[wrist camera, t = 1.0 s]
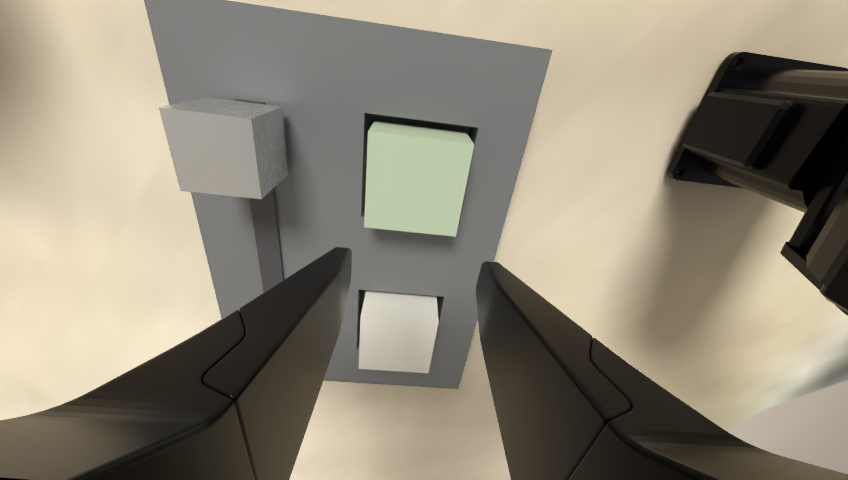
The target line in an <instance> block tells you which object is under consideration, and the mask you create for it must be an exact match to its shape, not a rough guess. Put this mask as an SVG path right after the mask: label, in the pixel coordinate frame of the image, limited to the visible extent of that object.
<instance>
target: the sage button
mask: <svg viewBox="0 0 848 480" xmlns="http://www.w3.org/2000/svg"><path fill="white" fill-rule="evenodd" d="M473 149H474V144H473V142H472V140H471V139H470V137H469V136H468V134H467V133H466V132H460V131H452V130H444V129H436V128H428V127H420V126H413V125H405V124H397V123H389V122H381V121H374V123H373V124H372V126H371V127H370V129H369V131H368V142H367V167H366V192H365V217H364V227H365V228H375V229H385V230H395V231H405V232H415V233H425V234H435V235H445V236H454V237H456V234H457V229H458V224H459V219H460V214H461V209H462V204H463V199H464V194H465V189H466V184H467V179H468V174H469V169H470V164H471V159H472V154H473Z"/></svg>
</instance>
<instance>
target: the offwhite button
mask: <svg viewBox="0 0 848 480" xmlns="http://www.w3.org/2000/svg"><path fill="white" fill-rule="evenodd" d="M438 323H439V320H438V308H437V296H430V295H418V294H406V293H394V292H383V291H371V290H366V293H365V298H364V302H363V307H362V312H361V318H360V344H359V369H369V370H385V371H400V372H415V373H429V368H430V363H431V358H432V353H433V348H434V343H435V338H436V333H437V328H438Z"/></svg>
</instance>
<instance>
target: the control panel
mask: <svg viewBox="0 0 848 480" xmlns="http://www.w3.org/2000/svg"><path fill="white" fill-rule="evenodd" d="M144 2H145V6H146V10H147V14H148V18H149V22H150V26H151V31H152V35H153V39H154V43H155V47H156V51H157V55H158V59H159V63H160V67H161V72H162V76H163V80H164V84H165V88H166V92H167V96H168V100H169V104H170V105H173V104H178V103H183V102H188V101H193V100H198V99H203V98H208V97H210V98H218V99H226V100H233V101H241V102H249V103H257V104H264V105H272V106H280V107H282V110H283V122H284V134H285V145H286V157H287V169H288V175H287V176H286V177H285V178H284V179H283V180H282V181H281V182H280V183H278V184H277V185H276V186H275V187H274V188H273V189H272V190H271V191H270V192H269V193H268V194H267V195H266V196H265V197H263V198H262V199H254V198H245V197H235V196H226V195H216V194H207V193H197V192H191V194H192V199H193V203H194V207H195V211H196V215H197V219H198V223H199V227H200V231H201V235H202V240H203V244H204V248H205V252H206V256H207V260H208V264H209V268H210V272H211V276H212V281H213V285H214V289H215V293H216V297H217V301H218V305H219V309H220V313H221V317H222V319H223V318H225V317H226V316H228V315H229V314H231V313H232V312H234V311H236V310H239V308H240V307H242V306H244V305H245V304H247V303H248V302H250V301H251V300H253V299H255V298H256V297H258V296H259V295H261V294H263V293H264V292H266V291H267V290H269V289H270V288H272V287H274V286H275V285H277V284H278V283H280V282H281V281H283V280H285V279H286V278H288V277H289V276H291V275H292V274H294V273H296V272H297V271H299V270H300V269H302V268H303V267H305V266H307V265H308V264H310V263H311V262H313V261H314V260H316V259H318V258H319V257H321V256H322V255H324V254H325V253H327V252H329V251H330V250H332V249H333V248H335V247H344V248H350V249H351V251H352V269H351V282H350V287H349V292H348V297H347V302H346V307H345V311H344V316H343V321H342V325H341V330H340V333H339V336H338V339H337V342H336V345H335V348H334V351H333V354H332V357H331V359H330V362H329V365H328V368H327V371H326V374H325V377H324V380H325V381H341V382H357V383H373V384H390V385H406V386H422V387H438V388H454V389H458V387H459V383H460V380H461V376H462V373H463V369H464V365H465V362H466V358H467V355H468V351H469V347H470V344H471V340H472V337H473V333H474V330H475V326H476V322H477V319H478V311H477V301H476V284H477V280H478V276H479V273H480V269H481V265H482V263H483V262H484V261H490V262H493V261H494V258H495V254H496V251H497V247H498V243H499V240H500V236H501V233H502V229H503V226H504V222H505V218H506V215H507V211H508V208H509V204H510V200H511V197H512V193H513V190H514V186H515V183H516V179H517V175H518V172H519V168H520V165H521V161H522V157H523V154H524V150H525V147H526V143H527V139H528V136H529V132H530V129H531V125H532V122H533V118H534V114H535V111H536V107H537V104H538V100H539V96H540V93H541V89H542V86H543V82H544V79H545V75H546V71H547V68H548V64H549V61H550V57H551V53H552V50H549V49H542V48H535V47H529V46H522V45H516V44H509V43H503V42H496V41H490V40H483V39H476V38H470V37H463V36H457V35H450V34H444V33H437V32H430V31H424V30H417V29H411V28H404V27H398V26H391V25H385V24H378V23H371V22H365V21H358V20H352V19H345V18H339V17H332V16H326V15H319V14H312V13H306V12H299V11H293V10H286V9H280V8H273V7H267V6H260V5H253V4H247V3H240V2H234V1H227V0H144ZM374 121H381V122H389V123H397V124H405V125H413V126H420V127H428V128H436V129H444V130H452V131H460V132H466V133H467V134H468V136H469V137H470V139H471V140H472V142H473V144H474V149H473V154H472V159H471V164H470V169H469V174H468V179H467V184H466V189H465V194H464V199H463V204H462V209H461V214H460V219H459V224H458V229H457V234H456V237H454V236H445V235H435V234H425V233H415V232H405V231H395V230H385V229H375V228H365V227H364V217H365V192H366V167H367V142H368V131H369V129H370V127H371V126H372V124H373V123H374ZM366 290H371V291H383V292H394V293H406V294H418V295H430V296H437V308H438V320H439V323H438V328H437V333H436V338H435V343H434V348H433V353H432V358H431V363H430V368H429V373H415V372H400V371H385V370H369V369H359V344H360V318H361V312H362V307H363V302H364V298H365V293H366Z"/></svg>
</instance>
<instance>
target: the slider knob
mask: <svg viewBox="0 0 848 480" xmlns="http://www.w3.org/2000/svg"><path fill="white" fill-rule="evenodd" d="M159 110H160V113H161V117H162V121H163V125H164V129H165V133H166V136H167V140H168V144H169V148H170V152H171V156H172V160H173V163H174V167H175V171H176V175H177V179H178V183H179V186H180V190H181V191H188V192H197V193H207V194H216V195H226V196H235V197H245V198H254V199H262V198H263V197H265V196H266V195H267V194H268V193H269V192H270V191H271V190H272V189H273V188H274V187H275V186H276V185H277V184H278V183H280V182H281V181H282V180H283V179H284V178H285V177H286V176H287V175H288V169H287V157H286V145H285V134H284V122H283V110H282V107H280V106H272V105H264V104H257V103H249V102H241V101H233V100H226V99H218V98H210V97H208V98H203V99H198V100H193V101H188V102H183V103H178V104H173V105H168V106H163V107H159Z"/></svg>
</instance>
